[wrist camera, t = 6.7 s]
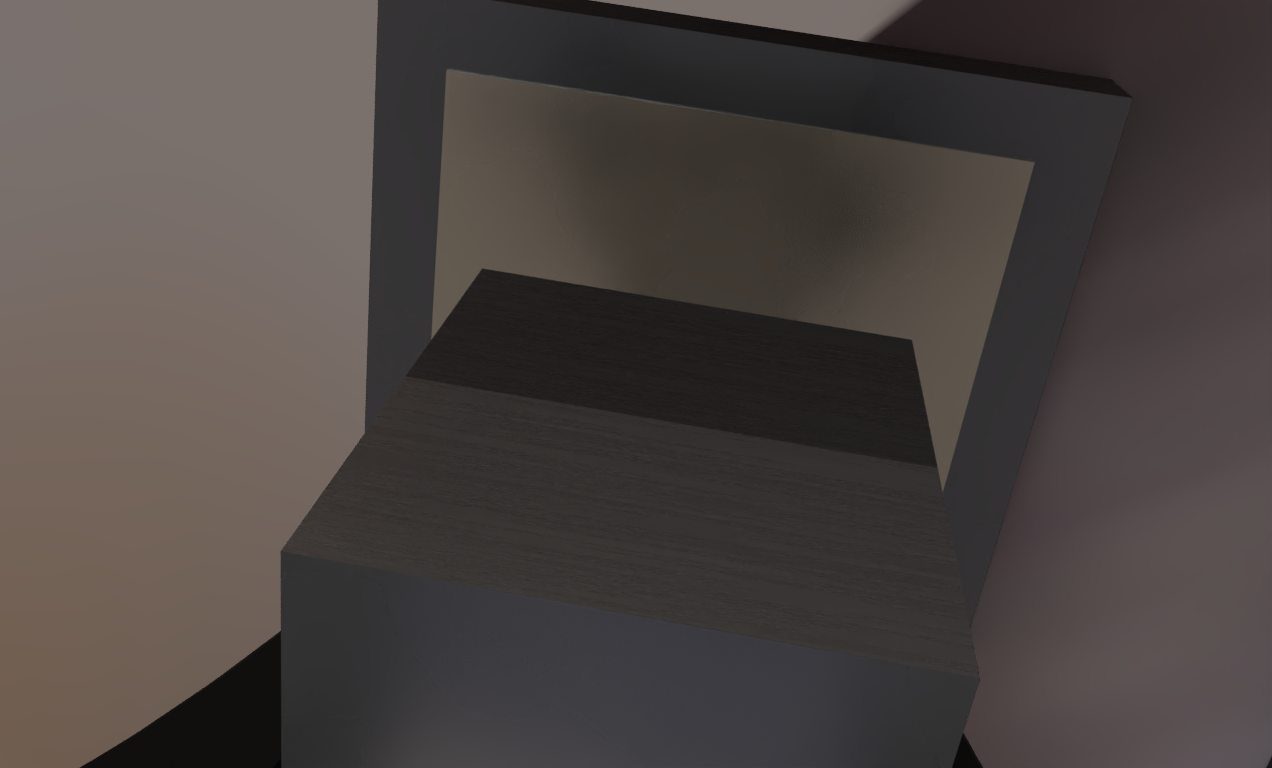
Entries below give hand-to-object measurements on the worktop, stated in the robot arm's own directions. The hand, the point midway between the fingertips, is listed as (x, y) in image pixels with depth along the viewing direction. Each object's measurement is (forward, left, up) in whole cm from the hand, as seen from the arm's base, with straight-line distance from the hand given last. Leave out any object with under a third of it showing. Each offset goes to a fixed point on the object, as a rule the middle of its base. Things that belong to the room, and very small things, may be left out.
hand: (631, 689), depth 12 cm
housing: (0, 0, -1) cm, 1 cm away
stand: (0, 0, -8) cm, 8 cm away
